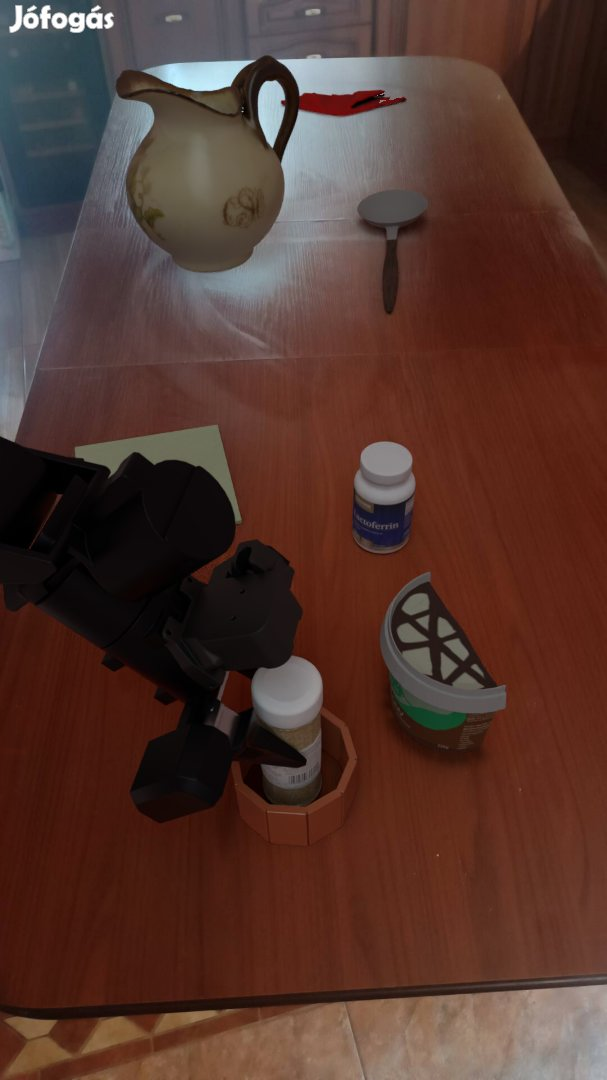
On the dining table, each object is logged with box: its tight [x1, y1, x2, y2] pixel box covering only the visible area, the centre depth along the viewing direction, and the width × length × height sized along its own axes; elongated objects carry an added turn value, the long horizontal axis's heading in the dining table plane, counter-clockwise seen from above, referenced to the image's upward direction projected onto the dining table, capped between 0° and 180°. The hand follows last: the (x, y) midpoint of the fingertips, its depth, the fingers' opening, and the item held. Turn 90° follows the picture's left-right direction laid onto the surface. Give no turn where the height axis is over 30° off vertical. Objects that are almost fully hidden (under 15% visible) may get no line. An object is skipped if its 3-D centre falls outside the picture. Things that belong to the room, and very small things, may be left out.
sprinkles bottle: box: [250, 655, 324, 807], centre depth 55 cm, size 5×5×13 cm
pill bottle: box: [351, 441, 417, 555], centre depth 75 cm, size 6×6×10 cm
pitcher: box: [115, 54, 301, 273], centre depth 112 cm, size 22×24×25 cm
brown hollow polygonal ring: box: [230, 705, 358, 847], centre depth 59 cm, size 9×9×5 cm
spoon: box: [356, 189, 429, 313], centre depth 118 cm, size 11×33×3 cm, turn 175°
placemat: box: [74, 424, 243, 525], centre depth 84 cm, size 16×16×1 cm
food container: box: [379, 571, 507, 754], centre depth 61 cm, size 12×6×10 cm, turn 21°
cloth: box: [280, 89, 408, 117], centre depth 164 cm, size 26×14×2 cm, turn 79°
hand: (309, 734), depth 54 cm, fingers closed on sprinkles bottle, 4 cm apart
